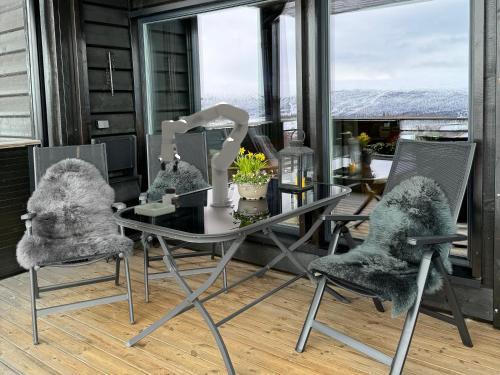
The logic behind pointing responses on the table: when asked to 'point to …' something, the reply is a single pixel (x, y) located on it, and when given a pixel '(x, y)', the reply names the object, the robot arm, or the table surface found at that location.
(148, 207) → the tray
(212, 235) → the table surface
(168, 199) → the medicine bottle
